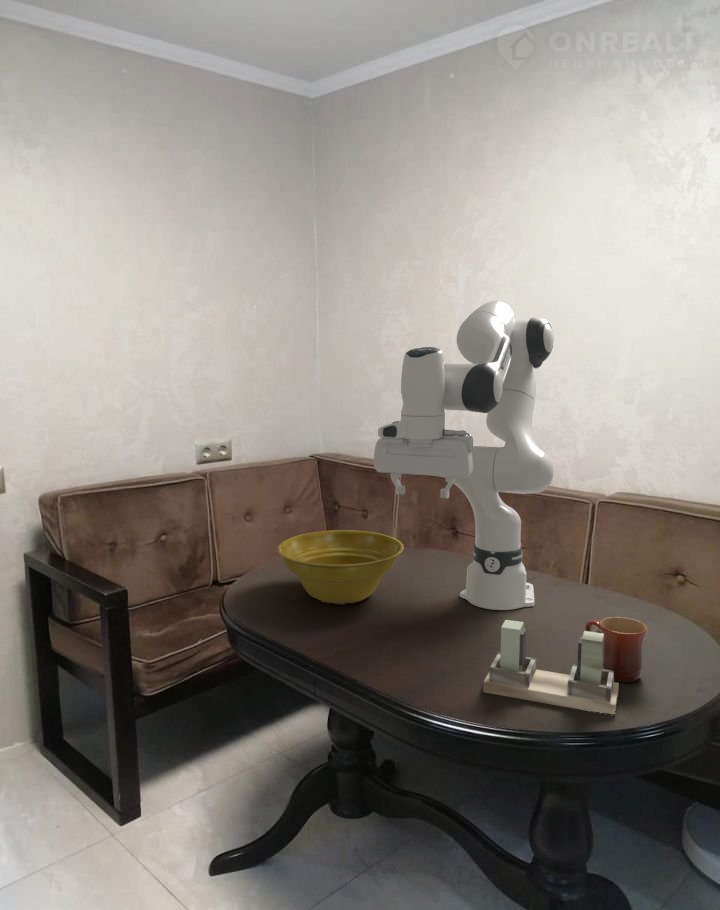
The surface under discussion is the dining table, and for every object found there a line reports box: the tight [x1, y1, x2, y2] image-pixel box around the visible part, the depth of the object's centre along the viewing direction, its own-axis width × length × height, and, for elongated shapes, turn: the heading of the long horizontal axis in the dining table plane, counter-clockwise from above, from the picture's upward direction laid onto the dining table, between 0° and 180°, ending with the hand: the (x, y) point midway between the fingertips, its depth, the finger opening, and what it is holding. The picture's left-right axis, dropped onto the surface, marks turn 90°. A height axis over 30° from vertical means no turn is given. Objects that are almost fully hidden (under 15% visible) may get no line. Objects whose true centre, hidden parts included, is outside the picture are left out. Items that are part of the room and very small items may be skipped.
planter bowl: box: [276, 529, 405, 605], centre depth 186 cm, size 32×32×13 cm
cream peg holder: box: [482, 630, 620, 715], centre depth 132 cm, size 9×23×12 cm, turn 67°
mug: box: [584, 616, 649, 683], centre depth 140 cm, size 12×9×10 cm
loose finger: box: [500, 619, 528, 672], centre depth 135 cm, size 4×4×10 cm
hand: (422, 496), depth 148 cm, fingers open, 8 cm apart
